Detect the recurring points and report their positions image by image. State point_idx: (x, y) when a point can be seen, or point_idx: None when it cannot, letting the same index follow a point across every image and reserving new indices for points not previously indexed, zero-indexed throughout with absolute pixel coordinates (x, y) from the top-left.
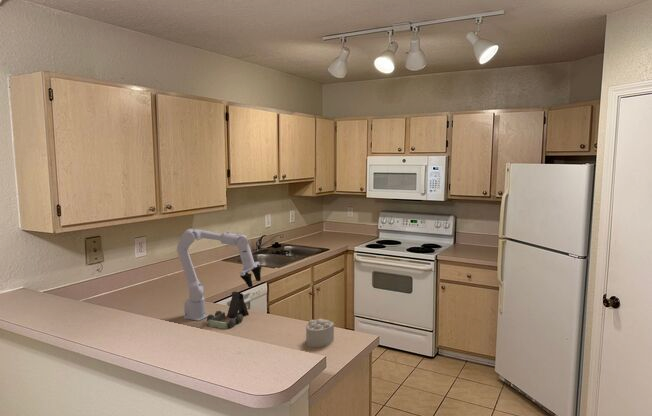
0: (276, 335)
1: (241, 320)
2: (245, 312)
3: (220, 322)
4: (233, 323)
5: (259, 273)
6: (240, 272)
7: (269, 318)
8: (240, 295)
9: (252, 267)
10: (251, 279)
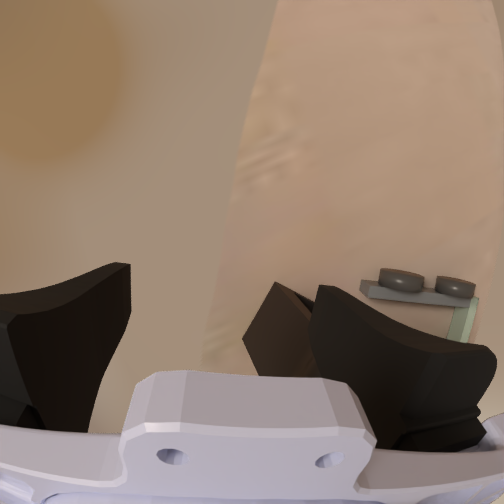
0: (458, 60)
1: (391, 269)
2: (296, 297)
3: (468, 334)
4: (452, 279)
5: (79, 292)
6: (501, 491)
7: (292, 142)
8: (307, 374)
9: (375, 482)
10: (365, 320)
